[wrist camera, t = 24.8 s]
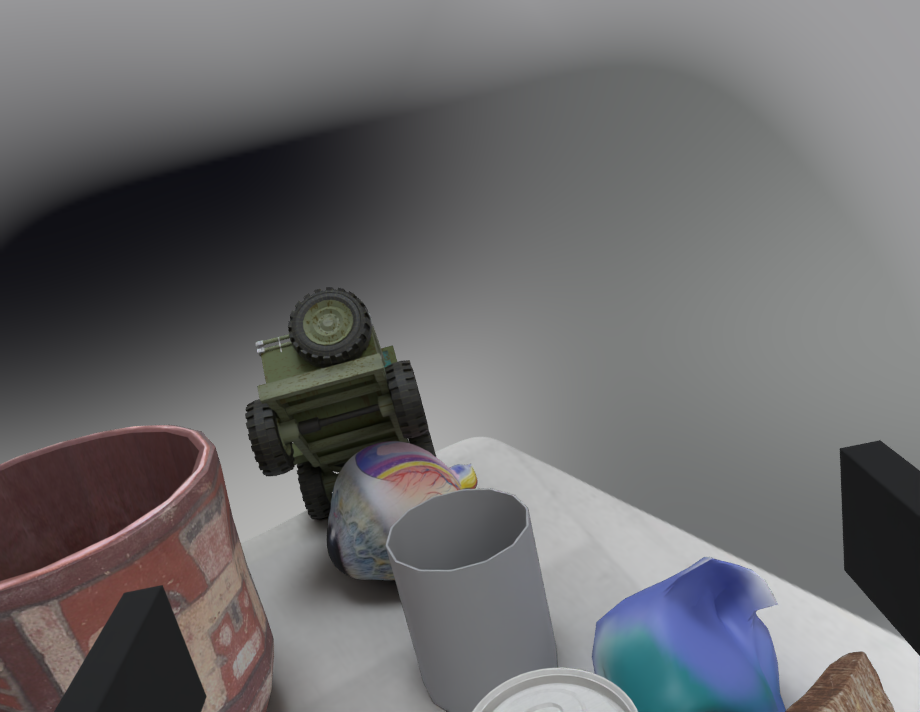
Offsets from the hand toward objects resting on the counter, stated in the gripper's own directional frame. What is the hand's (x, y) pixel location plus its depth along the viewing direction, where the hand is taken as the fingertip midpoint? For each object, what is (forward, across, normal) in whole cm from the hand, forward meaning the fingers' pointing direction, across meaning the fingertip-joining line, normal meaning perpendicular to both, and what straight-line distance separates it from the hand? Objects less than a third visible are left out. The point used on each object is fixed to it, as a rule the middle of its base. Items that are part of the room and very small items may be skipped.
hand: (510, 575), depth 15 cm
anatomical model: (+39, -6, -25) cm, 46 cm away
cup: (+26, -3, -25) cm, 36 cm away
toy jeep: (+41, -10, -18) cm, 46 cm away
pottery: (+24, -23, -25) cm, 41 cm away
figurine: (+17, +7, -24) cm, 30 cm away
